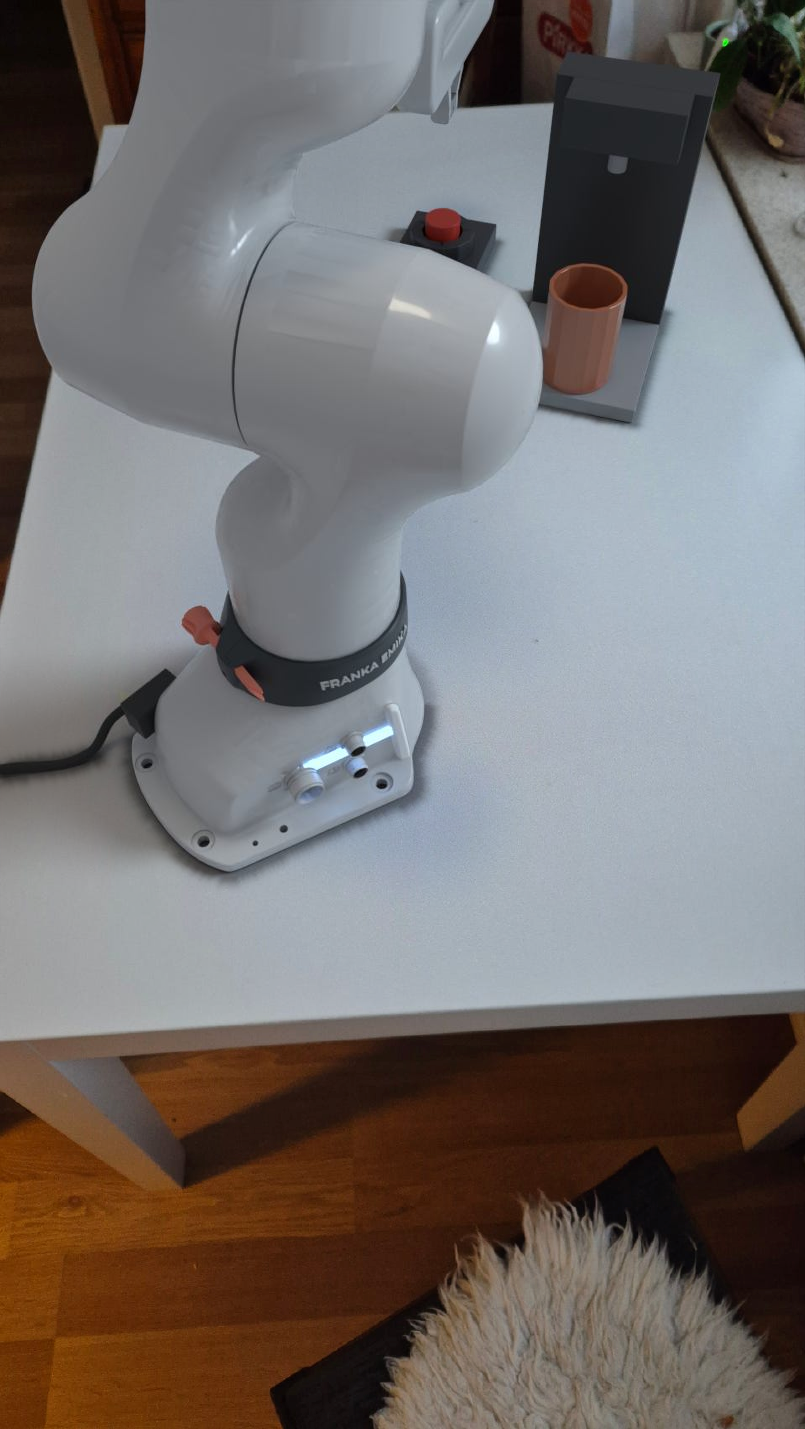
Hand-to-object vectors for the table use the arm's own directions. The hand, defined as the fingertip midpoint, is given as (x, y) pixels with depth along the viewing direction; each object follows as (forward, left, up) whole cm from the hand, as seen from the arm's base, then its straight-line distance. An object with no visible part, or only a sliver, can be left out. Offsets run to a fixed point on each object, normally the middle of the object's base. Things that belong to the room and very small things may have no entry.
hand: (443, 116), depth 95 cm
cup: (-2, -23, -14) cm, 27 cm away
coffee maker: (+2, -20, -16) cm, 25 cm away
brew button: (0, 0, -12) cm, 12 cm away
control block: (0, 0, -16) cm, 16 cm away
